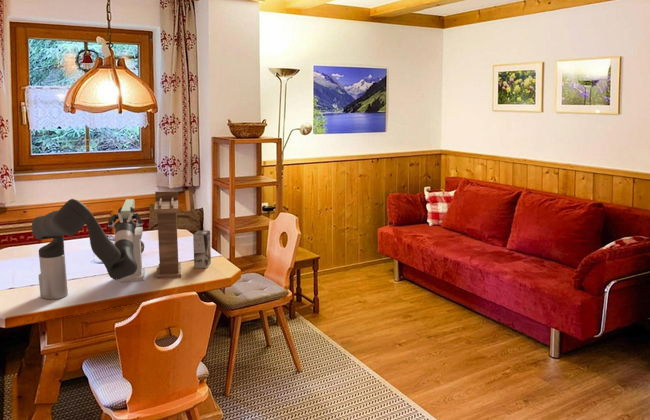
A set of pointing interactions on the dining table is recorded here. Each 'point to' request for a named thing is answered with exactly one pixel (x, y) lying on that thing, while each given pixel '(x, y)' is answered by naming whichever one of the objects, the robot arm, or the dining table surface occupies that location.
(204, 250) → the coffee box
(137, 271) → the post
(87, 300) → the dining table surface
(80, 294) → the dining table surface
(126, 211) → the batten
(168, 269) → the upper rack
